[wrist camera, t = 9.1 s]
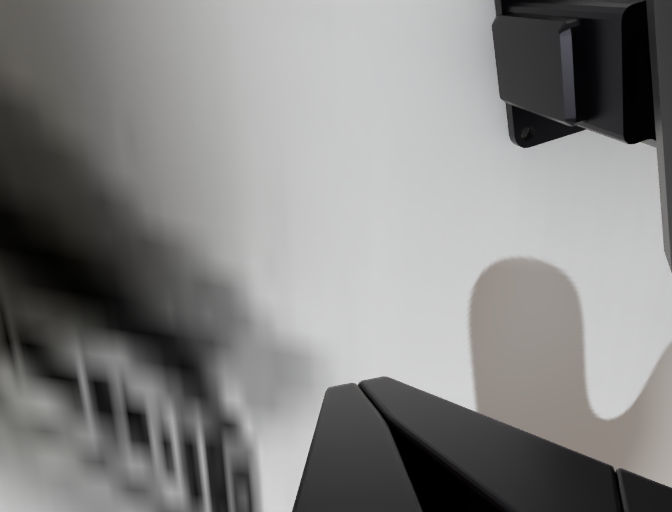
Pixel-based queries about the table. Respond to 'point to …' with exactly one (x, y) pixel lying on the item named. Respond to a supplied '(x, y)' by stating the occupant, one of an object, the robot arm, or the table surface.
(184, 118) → the table surface
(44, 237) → the table surface
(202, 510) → the table surface
